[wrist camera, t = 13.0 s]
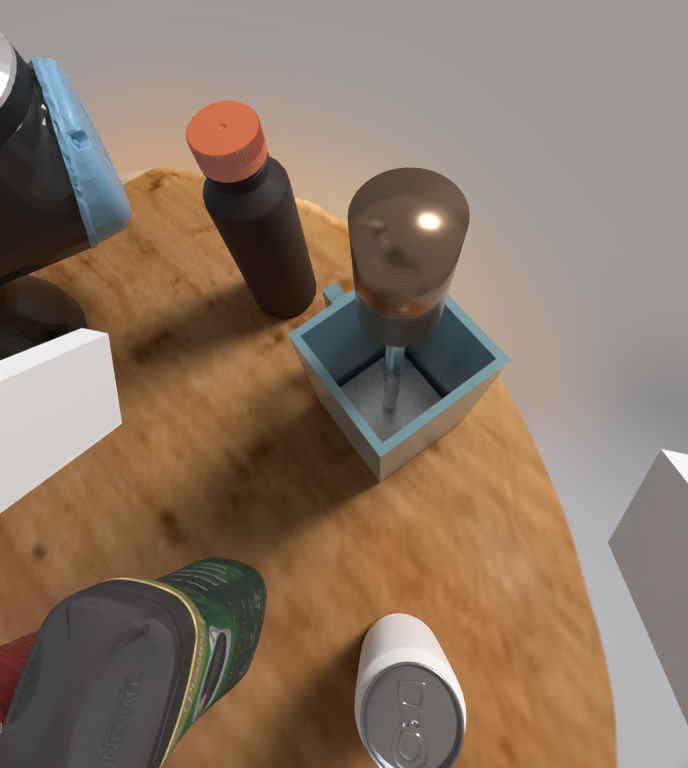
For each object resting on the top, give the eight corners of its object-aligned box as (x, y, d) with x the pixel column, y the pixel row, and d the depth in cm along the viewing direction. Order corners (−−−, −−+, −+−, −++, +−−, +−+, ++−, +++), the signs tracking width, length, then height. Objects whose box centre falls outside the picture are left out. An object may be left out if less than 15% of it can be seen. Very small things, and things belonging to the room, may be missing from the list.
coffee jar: (194, 548, 38) (36, 568, 20) (278, 569, 37) (186, 609, 19) (158, 670, 35) (-63, 814, 17) (247, 696, 34) (106, 879, 16)
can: (358, 698, 33) (347, 788, 22) (363, 608, 35) (356, 647, 24) (441, 709, 33) (474, 806, 21) (441, 616, 35) (471, 659, 23)
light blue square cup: (302, 377, 42) (263, 302, 28) (380, 322, 44) (381, 225, 30) (379, 482, 38) (380, 457, 24) (463, 419, 40) (510, 360, 26)
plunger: (331, 397, 40) (259, 203, 16) (397, 350, 41) (423, 101, 17) (381, 465, 37) (387, 357, 13) (451, 413, 38) (570, 227, 15)
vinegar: (327, 302, 45) (290, 140, 26) (270, 329, 44) (190, 184, 26) (301, 255, 47) (250, 75, 28) (246, 281, 47) (157, 115, 28)
